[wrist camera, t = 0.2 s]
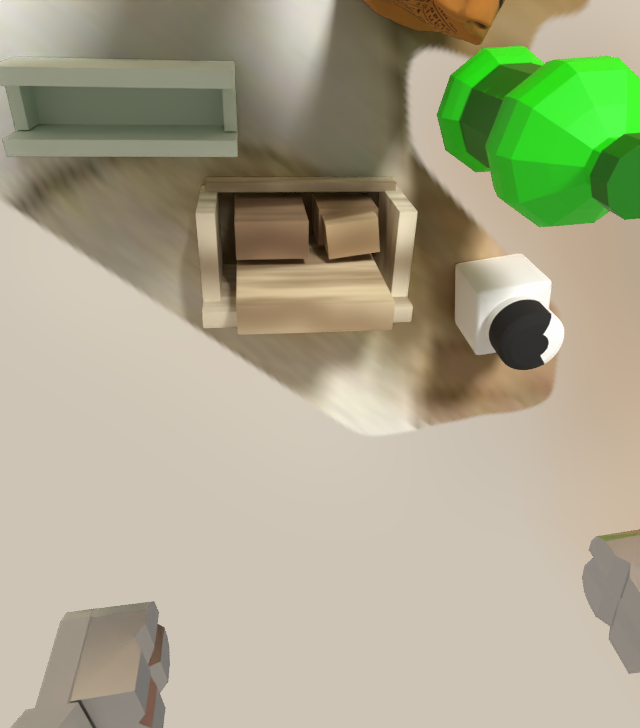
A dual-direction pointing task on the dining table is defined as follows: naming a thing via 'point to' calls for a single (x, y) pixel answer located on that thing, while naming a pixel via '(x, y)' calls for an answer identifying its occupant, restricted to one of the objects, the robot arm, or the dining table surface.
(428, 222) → the dining table surface
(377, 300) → the light wood flat panel
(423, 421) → the dining table surface
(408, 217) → the box
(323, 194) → the offcut low
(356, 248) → the offcut top
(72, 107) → the stand
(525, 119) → the plastic bottle
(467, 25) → the coffee package
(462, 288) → the medicine bottle
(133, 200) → the dining table surface
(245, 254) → the offcut tall
